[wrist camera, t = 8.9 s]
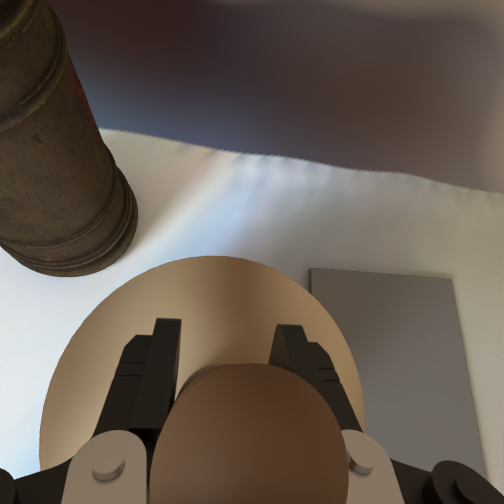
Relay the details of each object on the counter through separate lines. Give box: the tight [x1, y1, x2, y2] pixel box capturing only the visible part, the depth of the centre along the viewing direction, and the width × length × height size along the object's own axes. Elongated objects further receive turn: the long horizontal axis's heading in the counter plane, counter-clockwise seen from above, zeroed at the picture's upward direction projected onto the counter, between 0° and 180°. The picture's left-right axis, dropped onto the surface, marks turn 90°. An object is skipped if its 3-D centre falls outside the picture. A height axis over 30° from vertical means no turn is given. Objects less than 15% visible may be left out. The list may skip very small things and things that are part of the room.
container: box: [0, 0, 138, 277], centre depth 15 cm, size 9×9×18 cm
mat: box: [309, 268, 487, 480], centre depth 24 cm, size 12×15×1 cm
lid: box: [39, 256, 365, 504], centre depth 9 cm, size 12×12×9 cm
